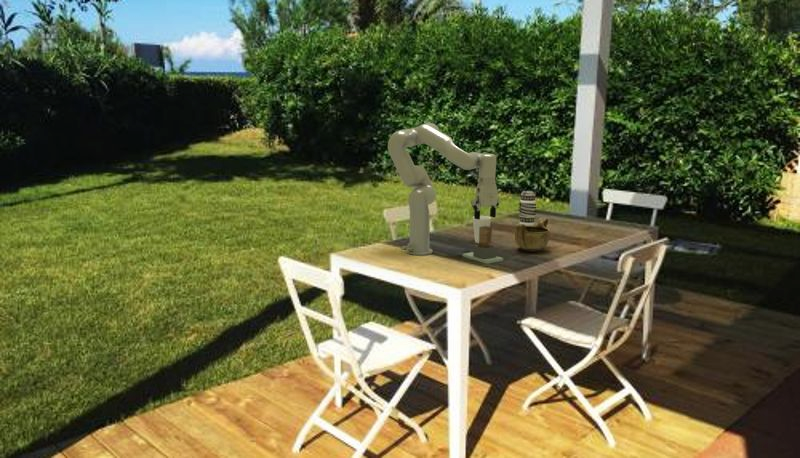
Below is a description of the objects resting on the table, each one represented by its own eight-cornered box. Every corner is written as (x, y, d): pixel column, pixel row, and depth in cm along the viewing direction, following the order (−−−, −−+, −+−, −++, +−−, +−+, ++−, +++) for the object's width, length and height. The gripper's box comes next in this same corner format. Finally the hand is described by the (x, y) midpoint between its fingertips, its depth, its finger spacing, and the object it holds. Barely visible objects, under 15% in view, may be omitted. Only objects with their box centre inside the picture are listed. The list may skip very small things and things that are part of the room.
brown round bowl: (530, 244, 341) (532, 215, 338) (559, 249, 329) (560, 220, 326) (503, 250, 326) (504, 220, 323) (532, 257, 314) (533, 226, 311)
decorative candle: (517, 239, 353) (518, 192, 348) (518, 235, 362) (520, 189, 357) (534, 240, 351) (536, 193, 346) (535, 236, 360) (537, 190, 354)
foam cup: (493, 243, 343) (494, 218, 340) (476, 244, 340) (477, 219, 337) (485, 239, 352) (486, 215, 349) (469, 240, 349) (469, 216, 346)
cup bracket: (486, 263, 302) (487, 250, 301) (462, 256, 316) (462, 243, 314) (503, 260, 308) (503, 247, 306) (478, 253, 321) (478, 240, 320)
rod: (484, 258, 307) (485, 228, 305) (478, 256, 311) (479, 226, 308) (490, 256, 310) (491, 227, 307) (485, 255, 313) (485, 226, 310)
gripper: (478, 183, 295) (476, 221, 299) (506, 180, 305) (504, 217, 308) (466, 181, 301) (465, 218, 305) (495, 178, 311) (493, 214, 314)
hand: (484, 217), depth 307 cm, fingers open, 9 cm apart
